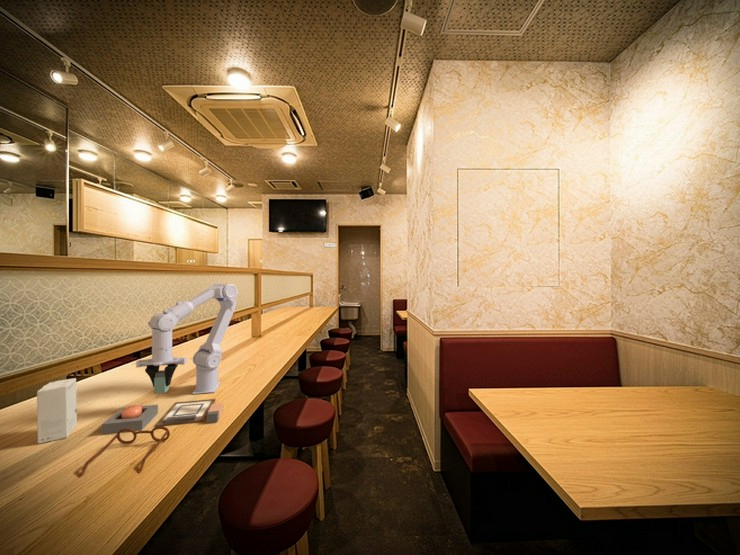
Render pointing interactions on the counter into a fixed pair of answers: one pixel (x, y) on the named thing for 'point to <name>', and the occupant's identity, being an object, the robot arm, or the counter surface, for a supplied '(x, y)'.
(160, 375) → the block
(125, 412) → the button
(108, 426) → the button housing
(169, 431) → the glasses
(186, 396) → the counter surface
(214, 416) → the terracotta marker
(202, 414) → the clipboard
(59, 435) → the skincare box
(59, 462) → the counter surface
